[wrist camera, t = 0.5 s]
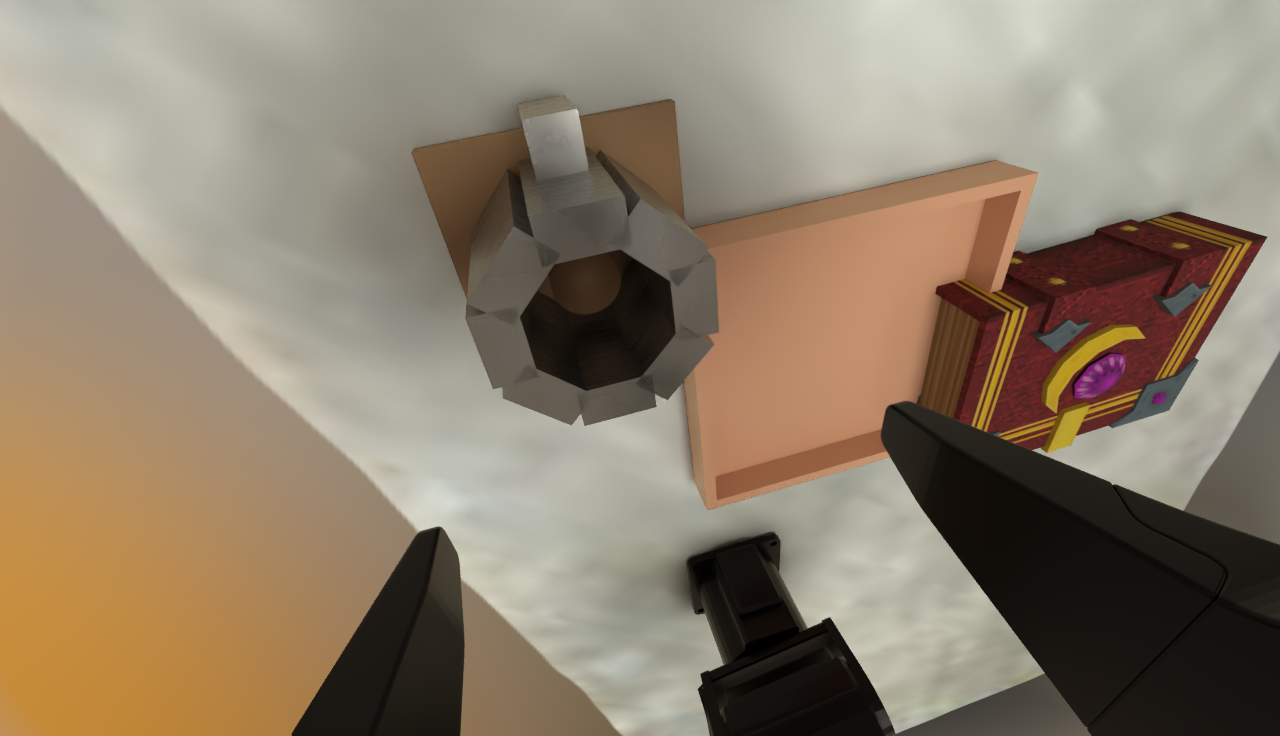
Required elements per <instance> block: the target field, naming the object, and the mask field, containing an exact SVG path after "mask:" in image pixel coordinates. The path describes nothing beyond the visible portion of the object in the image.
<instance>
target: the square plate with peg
mask: <svg viewBox="0 0 1280 736" xmlns="http://www.w3.org/2000/svg"><path fill="white" fill-rule="evenodd" d="M579 119H580V124H581V130H582V135H583V140H584V146H585V147H589V149H590V150H591V151H592V153H593V154H594V155H595V157H596V156H597V154H598V153H599V151H600V150H602V151H603V152H604V153H606V154H607V155H608V156H610V157H611V158H613V159H614V160H615V161H617V162H618V163H619V164H621V165H622V166H623V167H625V168H626V169H627V170H629V171H630V172H631V173H633V174H634V175H635V176H637V177H638V178H640V179H641V180H642V181H644V182H645V183H646V184H648V185H649V186H650V187H652V188H653V189H654V190H655V191H656V192H657V193H658V194H659V195H660V196H661V197H662V198H663V199H664V200H665V201H666V202H667V203H668V205H669V206H670V207H671V208H672V209H673V210H674V211H675V212H676V213H677V214H678V215H679V216H680V217H681V218H682V219H683V220H684V222H685V219H684V207H683V195H682V183H681V171H680V159H679V148H678V136H677V124H676V112H675V101H673V100H671V99H669V100H664V101H659V102H654V103H648V104H643V105H638V106H633V107H628V108H623V109H617V110H612V111H607V112H602V113H597V114H592V115H587V116H581V117H579ZM411 153H412V155H413V158H414V161H415V163H416V166H417V169H418V171H419V174H420V176H421V179H422V182H423V184H424V187H425V190H426V192H427V195H428V198H429V200H430V203H431V205H432V208H433V211H434V213H435V216H436V219H437V221H438V224H439V227H440V229H441V232H442V234H443V237H444V240H445V242H446V245H447V248H448V250H449V253H450V256H451V258H452V261H453V263H454V266H455V269H456V271H457V274H458V277H459V279H460V282H461V285H462V287H463V290H464V292H465V295H466V298H467V292H468V279H469V266H470V253H471V240H472V229H473V227H474V225H475V223H476V222H477V220H478V218H479V216H480V215H481V213H482V211H483V209H484V208H485V206H486V204H487V202H488V201H489V199H490V197H491V196H492V194H493V192H494V190H495V189H496V187H497V185H498V183H499V182H500V180H501V178H502V176H503V175H504V173H505V171H506V169H508V170H510V171H512V172H513V173H515V174H516V175H518V176H519V177H520V172H519V166H518V161H520V160H525V159H530V155H529V151H528V147H527V143H526V139H525V135H524V131H523V128H520V129H514V130H509V131H504V132H499V133H494V134H489V135H483V136H478V137H473V138H468V139H463V140H458V141H452V142H447V143H442V144H437V145H432V146H427V147H422V148H416V149H413V150H412V152H411ZM632 260H633V259H632V257H631V256H630V255H628V254H627V253H625V252H623V251H622V250H616V251H611V252H607V253H602V254H598V255H594V256H589V257H585V258H580V259H576V260H572V261H567V262H563V263H558V264H554V266H553V267H552V269H551V270H550V272H549V273H548V275H547V276H546V278H545V279H544V281H543V282H542V284H541V285H540V287H539V288H538V290H537V291H539V292H540V293H542V294H544V295H546V296H548V297H550V298H552V299H554V300H555V301H557V302H558V303H559V304H560V305H561V306H562V307H563V308H565V309H566V310H568V311H570V312H573V313H577V314H591V313H595V312H598V311H601V310H603V309H604V308H606V307H607V306H608V305H610V304H611V303H612V302H613V300H614V299H615V298H616V296H617V294H618V292H619V289H620V285H621V275H622V274H623V272H624V271H625V270H626V268H627V267H628V265H629V264H630V263H631V261H632Z"/></svg>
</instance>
